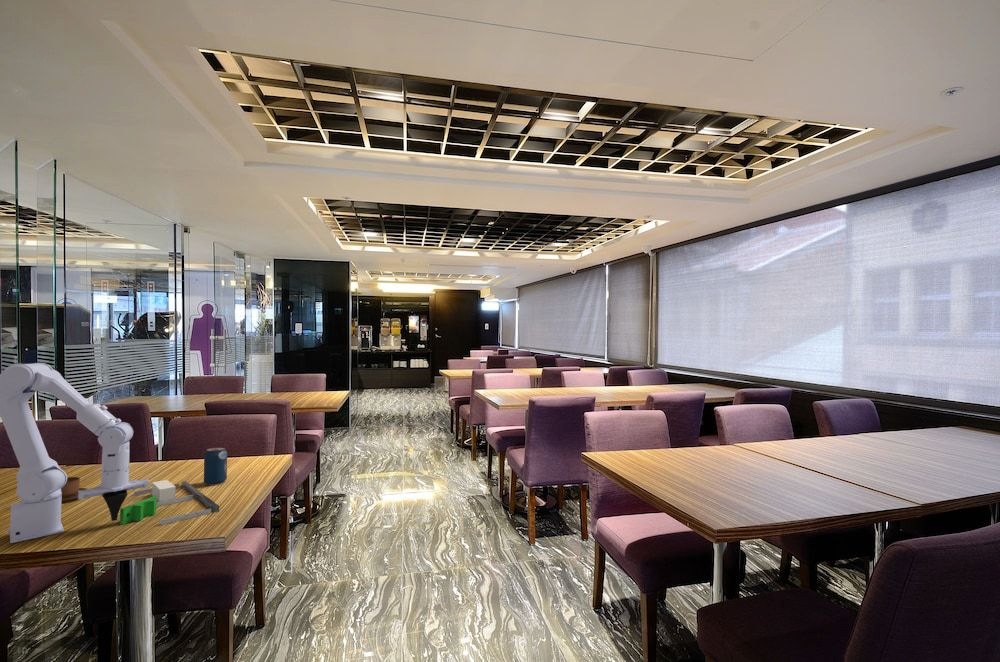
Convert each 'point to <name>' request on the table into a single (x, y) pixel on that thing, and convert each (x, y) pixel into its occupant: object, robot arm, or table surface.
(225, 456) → the soda can
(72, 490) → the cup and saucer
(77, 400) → the robot arm
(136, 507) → the pipe clamp
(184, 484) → the grey pronged frame
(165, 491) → the seated block
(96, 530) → the table surface
